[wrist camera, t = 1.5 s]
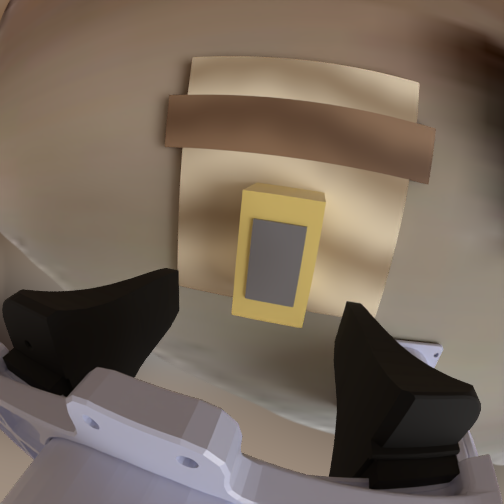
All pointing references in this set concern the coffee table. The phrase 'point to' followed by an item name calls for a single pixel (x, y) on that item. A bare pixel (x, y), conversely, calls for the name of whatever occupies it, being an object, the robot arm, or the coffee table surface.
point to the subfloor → (297, 165)
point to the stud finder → (276, 252)
